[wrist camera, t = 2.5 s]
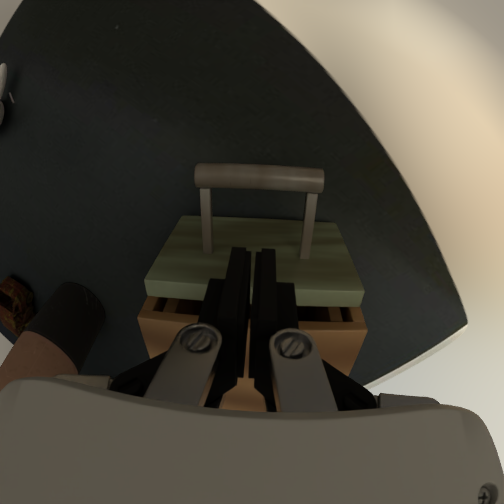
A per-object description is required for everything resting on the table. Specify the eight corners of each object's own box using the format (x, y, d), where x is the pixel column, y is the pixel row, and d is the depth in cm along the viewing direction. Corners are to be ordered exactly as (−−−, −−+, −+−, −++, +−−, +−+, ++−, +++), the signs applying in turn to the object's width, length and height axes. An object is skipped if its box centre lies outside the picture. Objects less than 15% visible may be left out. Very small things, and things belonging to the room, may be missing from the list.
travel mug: (89, 334, 34) (29, 460, 17) (48, 295, 31) (-30, 416, 14) (118, 316, 31) (50, 468, 14) (72, 269, 28) (-25, 414, 11)
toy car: (2, 264, 29) (-18, 285, 25) (36, 285, 30) (16, 309, 26) (12, 318, 35) (-2, 338, 31) (43, 338, 36) (29, 360, 32)
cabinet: (180, 233, 25) (136, 317, 16) (336, 241, 25) (368, 330, 16) (195, 350, 33) (177, 428, 24) (309, 357, 33) (317, 436, 24)
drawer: (177, 145, 20) (127, 181, 13) (345, 153, 20) (390, 194, 12) (196, 338, 31) (179, 407, 23) (310, 345, 30) (317, 415, 23)
